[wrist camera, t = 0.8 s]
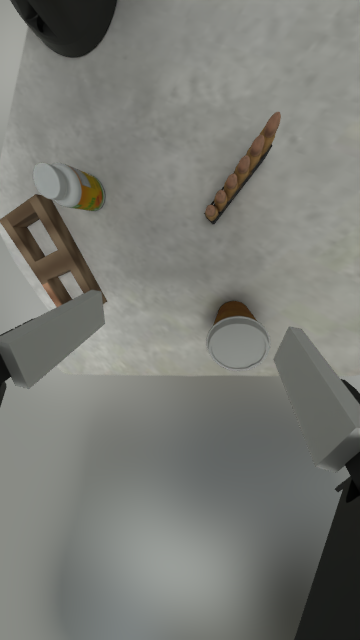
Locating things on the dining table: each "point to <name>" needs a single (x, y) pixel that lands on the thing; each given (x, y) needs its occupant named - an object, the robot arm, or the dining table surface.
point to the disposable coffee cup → (237, 338)
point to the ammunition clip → (244, 169)
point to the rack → (57, 261)
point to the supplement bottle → (69, 186)
